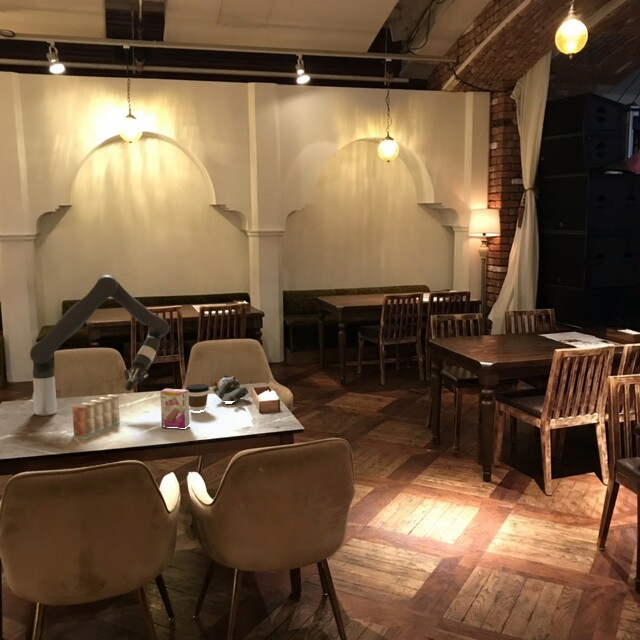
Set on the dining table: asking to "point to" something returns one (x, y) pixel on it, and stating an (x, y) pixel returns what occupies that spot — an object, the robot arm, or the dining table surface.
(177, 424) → the candy bar box
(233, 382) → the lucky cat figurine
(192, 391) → the coffee cup
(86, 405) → the domino
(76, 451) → the dining table surface
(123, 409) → the dining table surface
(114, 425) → the domino board
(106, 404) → the domino
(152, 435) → the dining table surface
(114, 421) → the domino
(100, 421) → the domino
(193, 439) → the dining table surface
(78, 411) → the domino
